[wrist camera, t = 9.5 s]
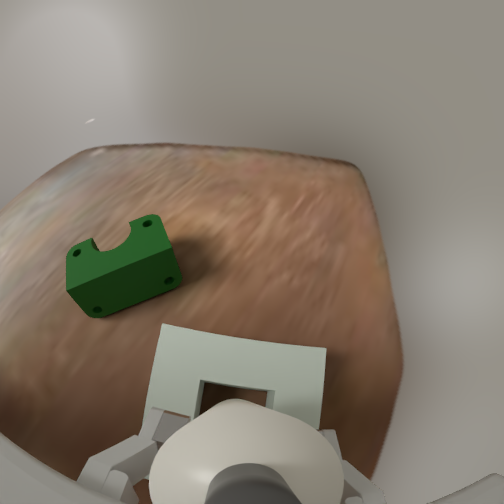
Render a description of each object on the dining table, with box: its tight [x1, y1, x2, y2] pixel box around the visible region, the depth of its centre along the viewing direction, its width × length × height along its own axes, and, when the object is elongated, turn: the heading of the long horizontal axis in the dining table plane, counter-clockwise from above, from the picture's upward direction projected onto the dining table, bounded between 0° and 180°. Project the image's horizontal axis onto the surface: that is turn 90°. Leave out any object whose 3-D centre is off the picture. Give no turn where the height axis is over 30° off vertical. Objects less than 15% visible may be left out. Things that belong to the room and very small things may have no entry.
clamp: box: [66, 214, 182, 318], centre depth 26 cm, size 12×6×9 cm, turn 111°
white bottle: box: [149, 399, 344, 504], centre depth 8 cm, size 4×4×14 cm
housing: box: [142, 323, 326, 480], centre depth 20 cm, size 14×14×4 cm
